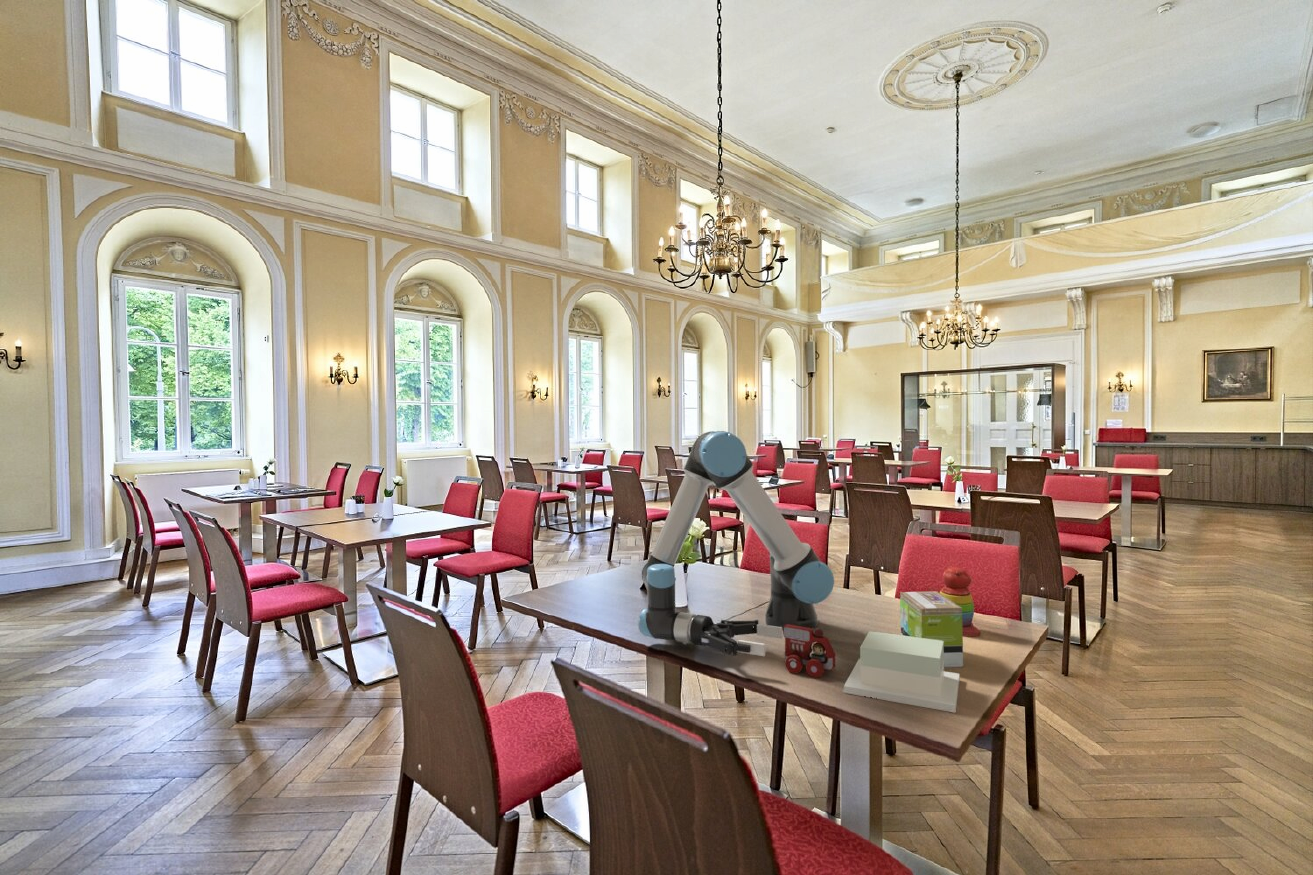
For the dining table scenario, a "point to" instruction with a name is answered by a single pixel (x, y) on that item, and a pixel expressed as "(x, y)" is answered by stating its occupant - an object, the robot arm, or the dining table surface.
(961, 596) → the stacking bear
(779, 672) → the dining table surface
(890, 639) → the block on white base
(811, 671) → the toy fire truck
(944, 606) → the tea box
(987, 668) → the dining table surface
